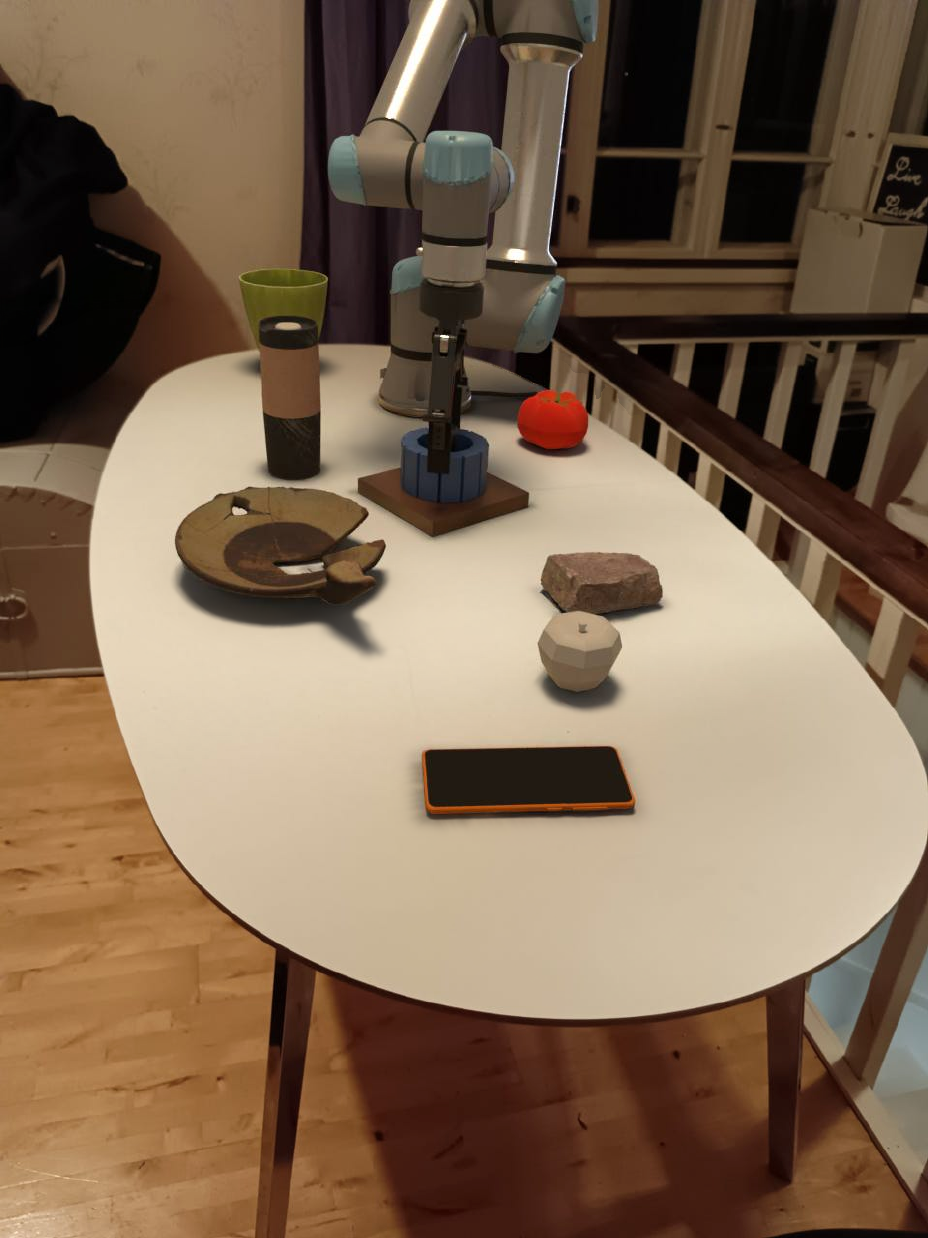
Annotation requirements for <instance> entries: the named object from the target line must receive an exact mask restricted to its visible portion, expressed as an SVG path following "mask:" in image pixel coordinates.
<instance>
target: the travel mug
mask: <svg viewBox="0 0 928 1238" xmlns="http://www.w3.org/2000/svg"><path fill="white" fill-rule="evenodd" d="M258 327H259V346H260V352H259V363H260V364H259V365H260V387H261V407H262V408H261V409H262V419H263V420H262V421H263V431H264V442H265V443H264V444H265V453H266V464H267V471H268V473H269V474H270V475H272V476H273V477H275V478H278V479H282V480H295V481H296V480H304V479H309V478H312V477H315V476H316V475H318V474H319V473H320V471H321V434H322V433H321V431H322V430H321V425H322V423H321V422H322V421H321V418H322V417H321V416H322V411H321V408H322V406H321V405H322V404H321V379H320V349H319V348H320V347H319V340H318V324H317V322H316V321H315V320H313V319H311V318H307V317H302V316H290V315H283V316H272V317H267V318H264V319H261V320H260V321H259V323H258Z"/></svg>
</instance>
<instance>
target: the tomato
mask: <svg viewBox="0 0 928 1238" xmlns="http://www.w3.org/2000/svg"><path fill="white" fill-rule="evenodd" d="M537 393H538V394H536V395H535V396H534V397H527V398H526V399H525V400H523V402H522V403H521V405H520V407H519V410H518V413H517V419H516V421H517V429H518V431H519V434H520V436H521V437H522V438H523V439H524V440H525V441H526V442H527V443H530V444H531V445H536V446H538V447H542V448H543V449H545V450H547V451H548V450H557V449H563V450H567V449H571V448H573V447H576V446H577V445H579V444H580V443H581V442H582V441H583V440H584V438H585V437H586V435H587V433H588V429H589V414H588V411H587V408H586V407H585V406H584V404H583V402H582V401H581V400H580V399H579V398H578V397H577V396H576V394H575V393H572V392H569V391H566V390H565V391H563V392H562V391H559V392H557V391H555V390H553V389H544V390H542V391H540V392H537Z"/></svg>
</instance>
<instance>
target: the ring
mask: <svg viewBox="0 0 928 1238" xmlns="http://www.w3.org/2000/svg"><path fill="white" fill-rule="evenodd" d="M428 429H429V427H420V428H416V429H412V430H411V431H408V432H406V433H405V434H404V435H403V436H402V437H401V439H400V467H401V471H400V483H401V486H402V490H404V491H405V492H406V493H408V494H410V495H412V496H414V497H415V498H416V497H419V499H423V500H428V501H433V502H437V501H438V500H440V503H446V502H460V501H462V502H464V501H467V500H471V499H474V498H477V497H478V496H480V495H481V494H482V493H483V492H484V491H485V490H486V483H487V472H488V468H489V455H490V453H489V452H490V443H489V442H488V440H487V438H486V437H484V435H481V434H480V433H477V432H475V431H473V430H469V429H464V428H460V429H459V428H458V431H457V450H456V452H451V453H450V472H449V474H441V473H429V472H427V455H428Z"/></svg>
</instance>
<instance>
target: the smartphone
mask: <svg viewBox="0 0 928 1238" xmlns="http://www.w3.org/2000/svg"><path fill="white" fill-rule="evenodd" d="M621 759H622V758H621V757H620V753H619V751H618V749H617V747H615V746H613V745H574V746H573V745H572V746H571V745H569V746H568V745H567V746H527V747H526V746H525V747H523V746H522V747H521V746H519V747H476V748H474V747H471V748H468V747H467V748H429V749H425V750H423V751H422V752H421V763H422V776H423V783H424V785H423V787H424V789H423V790H424V801H425V808H426V811H427V812H429V813H431V814H434V815H435V814H436V815H440V814H441V815H442V814H443V815H444V814H445V815H446V814H478V813H479V814H480V813H481V814H482V813H516V812H517V813H518V812H519V813H520V812H521V813H522V812H562V811H607V810H626V809H627V810H628V809H631V808H633V807H635V805H636V798H635V795H634V793H633V790H632V787H631V785H630V784H631V783H630V781H629V778H628V776H627V773H626V769H625V767H624V765H623V762H622V760H621Z"/></svg>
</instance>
